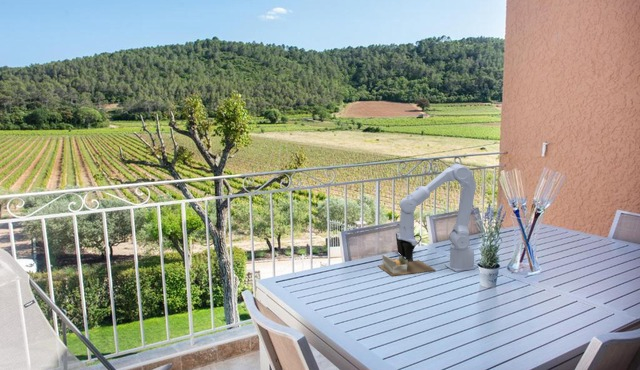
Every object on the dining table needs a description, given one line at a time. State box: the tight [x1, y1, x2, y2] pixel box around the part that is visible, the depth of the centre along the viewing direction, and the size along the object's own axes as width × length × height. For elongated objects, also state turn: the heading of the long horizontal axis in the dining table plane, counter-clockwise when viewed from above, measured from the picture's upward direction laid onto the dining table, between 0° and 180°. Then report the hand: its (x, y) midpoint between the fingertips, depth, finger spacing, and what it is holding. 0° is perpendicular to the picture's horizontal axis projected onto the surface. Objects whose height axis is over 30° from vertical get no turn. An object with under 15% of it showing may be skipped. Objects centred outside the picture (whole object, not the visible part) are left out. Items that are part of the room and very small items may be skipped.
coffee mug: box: [395, 230, 422, 256], centre depth 224 cm, size 12×9×10 cm
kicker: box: [398, 252, 414, 267], centre depth 203 cm, size 5×6×8 cm
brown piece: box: [377, 254, 437, 277], centre depth 203 cm, size 20×14×6 cm
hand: (406, 257), depth 203 cm, fingers closed on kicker, 2 cm apart
